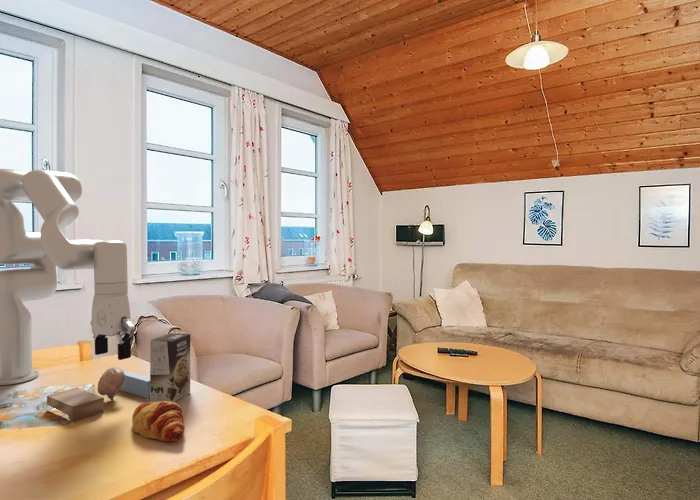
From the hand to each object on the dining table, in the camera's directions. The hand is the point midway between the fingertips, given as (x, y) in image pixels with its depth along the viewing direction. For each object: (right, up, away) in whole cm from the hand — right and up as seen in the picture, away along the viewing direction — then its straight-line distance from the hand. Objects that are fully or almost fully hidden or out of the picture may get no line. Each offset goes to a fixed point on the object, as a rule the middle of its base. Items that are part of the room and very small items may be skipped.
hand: (112, 356), depth 118 cm
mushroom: (-1, -12, +1) cm, 12 cm away
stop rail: (+3, -11, +7) cm, 13 cm away
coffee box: (+14, -12, +3) cm, 18 cm away
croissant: (+18, -13, -16) cm, 27 cm away
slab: (-5, -12, -7) cm, 15 cm away
